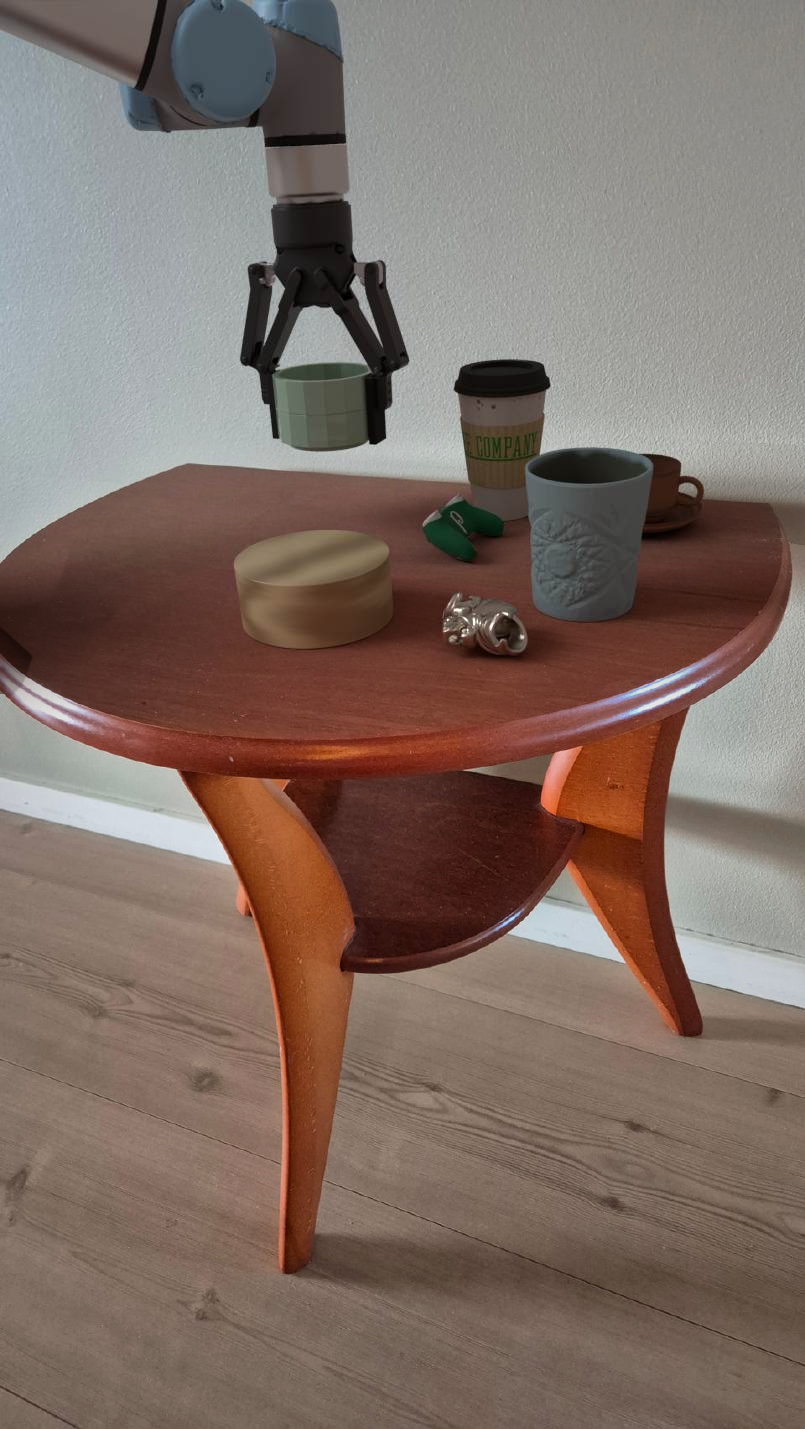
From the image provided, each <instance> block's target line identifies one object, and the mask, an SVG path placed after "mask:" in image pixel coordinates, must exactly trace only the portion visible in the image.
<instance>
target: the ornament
mask: <svg viewBox="0 0 805 1429" xmlns="http://www.w3.org/2000/svg"><path fill="white" fill-rule="evenodd" d="M463 598H464V595H463V593H462V592H456V593H455V594H453V595H452V597H451V598H450V600H449V602H448V603H447V605H446V606H445V608H444V609H443V611H442V612H443V614H442V625H441V634H442V635H441V636H442V645H443V647H448V648H460V647H461V645H463V646H466V648H467V649H473V648H476V647H477V644H478V646H479V647H480V648H481V649H483V650H484V651H485V652H487V653H489V654H491V655H495V656H508V655H509V656H512V657H518V656H520V655H522V654H523V653H524V651H526V648H527V646H528V641H529V640H528V639H529V638H528V634H527V630H526V628H525V625H524V623H523V622H522V621H521V620H520V619H519V617H518V616H517V608H516V607H515V606H514V605H513V604H510V603H508V602H506V601H504V600H502V599H496V600H495V599H492V598H486V599H482V598H481V597H480V596H478V595H469V597H468V600H466V601H462V600H463Z"/></svg>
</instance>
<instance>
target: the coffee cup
mask: <svg viewBox="0 0 805 1429" xmlns="http://www.w3.org/2000/svg"><path fill="white" fill-rule="evenodd" d="M551 387H552V385H551V379H550V377H549V376H548V375H547V371H546V368H545V365H544V363H542V362H539V361H536V360H529V359H518V358H515V359H514V358H509V359H508V358H505V359H489V360H481V361H476V362H471V363H467V364H464V365H462V366H461V367H460V368H459V371H458V376H457V379H456V380H455V381H454V386H453V392H455V393H456V394H457V396H458V403H459V411H460V412H459V413H460V416H459V422H460V429H461V438H462V443H463V451H464V458H465V465H466V466H465V467H466V473H467V480H468V482H469V486H470V494H471V502H472V506H474V507H477V508H480V509H483V510H486V511H488V512H490V513H493V514H495V515H496V516H498V517H499V518H500V519H501V520H502V521H503V522H505V521H507V522H509V521H514V520H515V521H516V520H520V519H523V518H526V517H527V516H528V517H529V504H528V498H527V489H526V475H525V466H526V464H527V463H528V462H529V461H530V460H532V459H533V458H535V457H537V456H538V455H541V448H542V441H543V440H542V439H543V433H544V424H545V416H546V415H545V412H544V411H545V403H546V394H547V390H549V389H550V388H551Z"/></svg>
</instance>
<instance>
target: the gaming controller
mask: <svg viewBox="0 0 805 1429" xmlns="http://www.w3.org/2000/svg"><path fill="white" fill-rule="evenodd" d="M421 531H422V533H423V534H424V536H425V538H426V541H427V542H428V543H429V544H432V546H434V547H435V548H436V549H438V550H440V551H441V552H443V553H445V554H446V555H448V556H450V557H452V558H455V559H458V560H461V561H464V562H467V563H471V562H472V561H474V560H475V559H476V558H477V556H478V551H477V548H476V547H475V546H474V545H473V543H472V542H471V541H470V540H469V539H468V538H469V537H470V536H471V535H472V534H473V533H474V534H479V535H484V536H491V537H499V536H502V535H503V533H504V531H505V523H504V521H502V520H501V519H500V518H499V517H498V516H496V515H495V514H493V513H490V512H488V511H486V510H483V509H480V508H477V507H474V506H473V504H470V503H469V502H468V501H467V500H466V499H465V498H463V496H462V493H461V492H459V493H458V494H457V495H455V496H454V497H452V498H451V499H450V500H449V501H448V502H447V503H446V504H445V507H443V508H440V509H436V510H435V511H433V512H432V513H431V514H430V515H429V516H427V517H426V518H425V519H424V521H423V523H422V527H421Z"/></svg>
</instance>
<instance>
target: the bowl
mask: <svg viewBox="0 0 805 1429" xmlns="http://www.w3.org/2000/svg"><path fill="white" fill-rule="evenodd" d="M277 370H278V371H276V372H275V373H274V374H273V375H272V378H273V387H274V397H275V406H276V416H277V426H278V435H279V439H278V440H279V441H280V442H281V443H282V444H283V445H284V444H285V445H287V446H290V448H292V449H295V450H299V451H303V452H315V453H317V452H320V453H323V452H337V451H338V452H339V451H346V450H350V449H355V448H358V447H361V446H364V445H366V444H367V443H369V432H368V415H367V398H366V382H365V378H366V377H368V376H370V375H372V374H373V373H372V371H371V370H370V368H369V366H368V364H367V363H366V364H365V363H359V362H347V361H346V362H345V361H335V362H332V361H331V362H330V361H329V362H314V363H305V364H304V363H303V364H300V365H293V366H288V367H285V368H281V369H277Z"/></svg>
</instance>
